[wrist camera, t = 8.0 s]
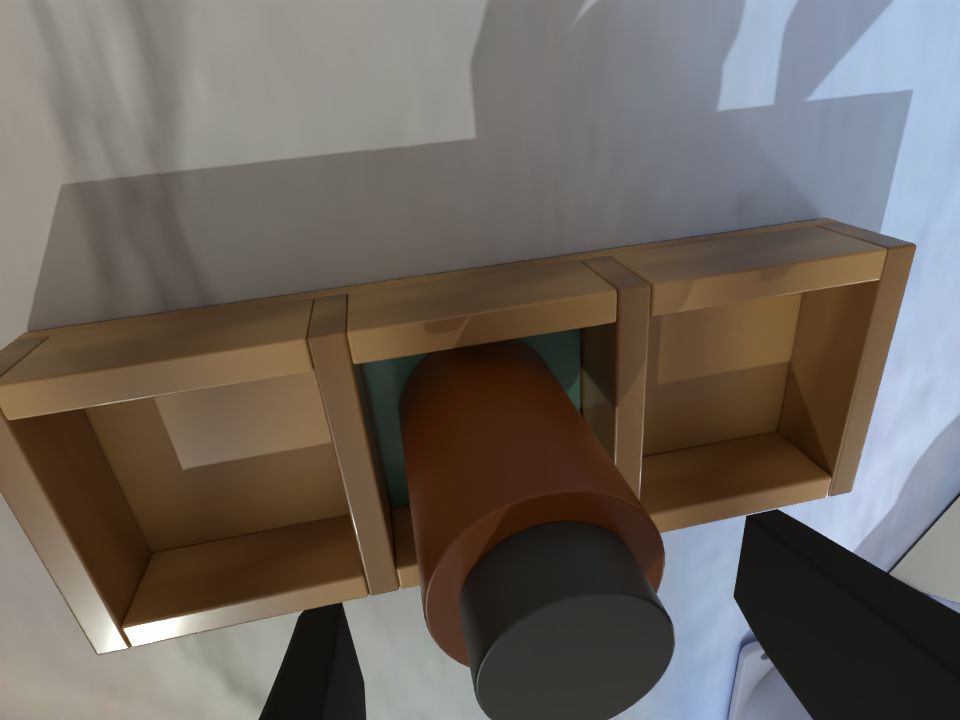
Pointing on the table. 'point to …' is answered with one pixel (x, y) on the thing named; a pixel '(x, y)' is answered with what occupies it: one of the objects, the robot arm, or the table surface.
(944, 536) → the skate ramp
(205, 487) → the spice tray
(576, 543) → the spice bottle
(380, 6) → the table surface
